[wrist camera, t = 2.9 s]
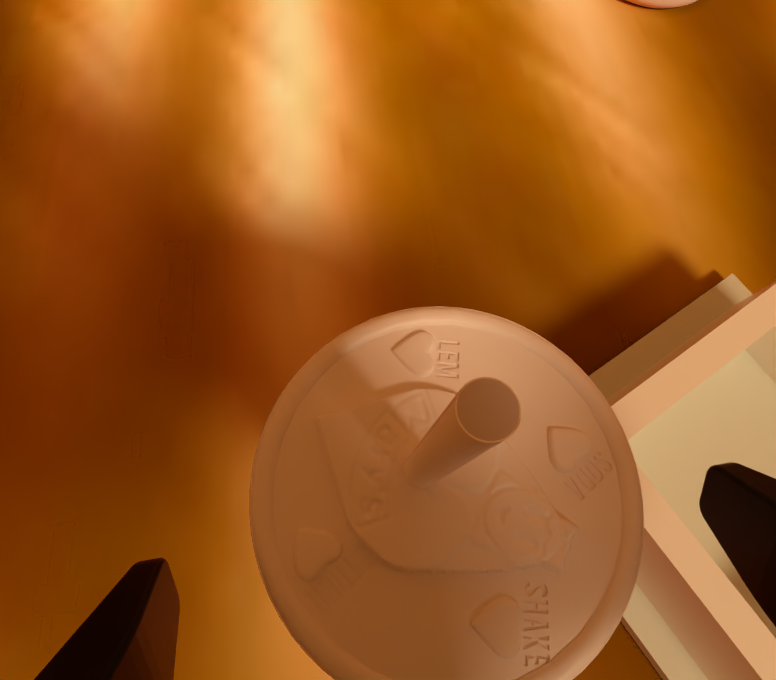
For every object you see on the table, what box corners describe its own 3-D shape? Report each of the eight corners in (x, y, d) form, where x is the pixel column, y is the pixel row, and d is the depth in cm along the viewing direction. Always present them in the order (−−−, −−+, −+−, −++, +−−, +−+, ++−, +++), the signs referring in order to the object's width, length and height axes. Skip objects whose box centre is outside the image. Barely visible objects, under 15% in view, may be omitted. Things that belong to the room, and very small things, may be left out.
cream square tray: (972, 543, 18) (1108, 545, 15) (744, 792, 15) (851, 861, 12) (724, 279, 21) (792, 232, 18) (492, 444, 18) (524, 424, 15)
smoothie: (356, 384, 19) (377, 34, 6) (522, 469, 18) (976, 295, 5) (260, 560, 17) (-62, 650, 4) (445, 663, 16) (891, 1234, 3)
